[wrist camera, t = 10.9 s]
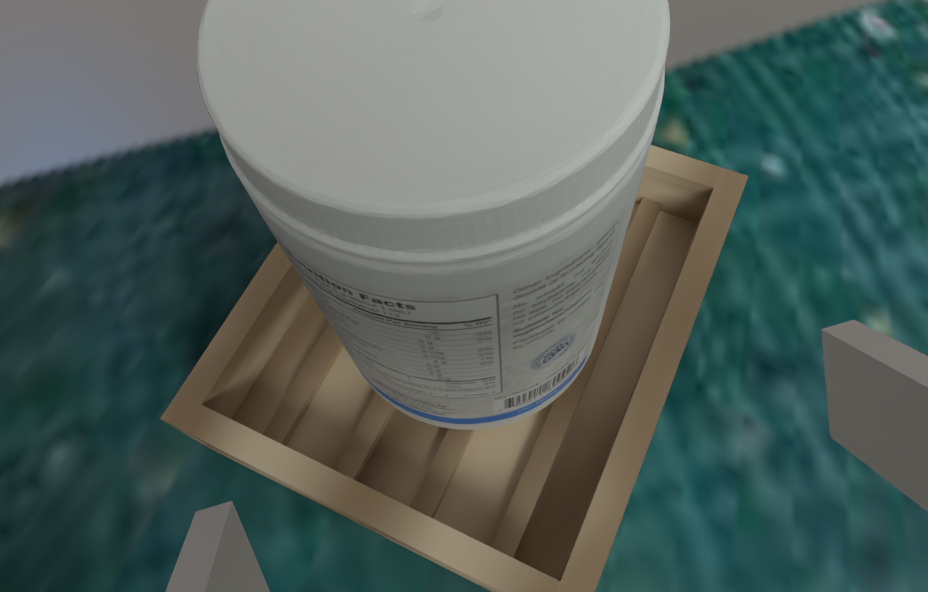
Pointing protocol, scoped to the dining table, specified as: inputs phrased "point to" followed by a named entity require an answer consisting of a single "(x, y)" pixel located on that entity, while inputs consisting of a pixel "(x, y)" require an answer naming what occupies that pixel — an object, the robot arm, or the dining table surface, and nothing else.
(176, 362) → the dining table surface
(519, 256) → the supplement tub
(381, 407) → the slatted wooden tray
